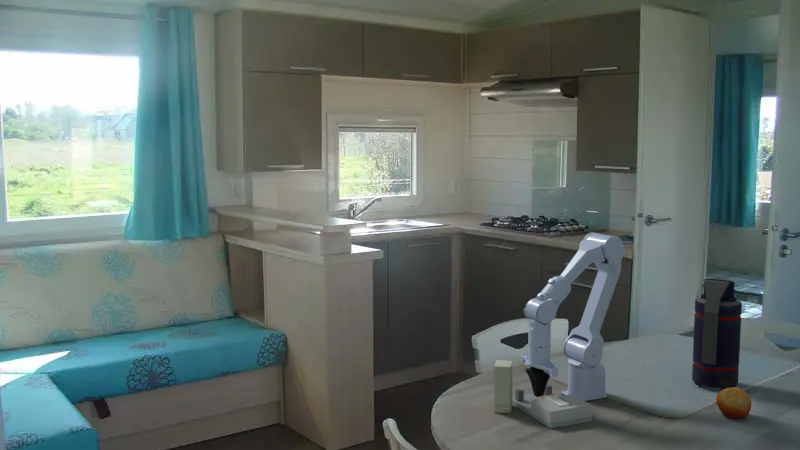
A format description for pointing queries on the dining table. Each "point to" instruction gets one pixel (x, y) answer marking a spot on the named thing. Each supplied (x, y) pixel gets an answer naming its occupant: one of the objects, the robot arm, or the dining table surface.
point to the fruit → (734, 402)
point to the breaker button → (556, 400)
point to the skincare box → (503, 386)
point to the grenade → (716, 335)
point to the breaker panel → (553, 408)
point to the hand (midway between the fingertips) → (538, 395)
